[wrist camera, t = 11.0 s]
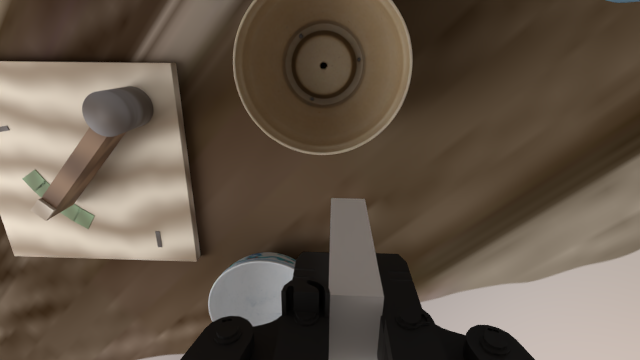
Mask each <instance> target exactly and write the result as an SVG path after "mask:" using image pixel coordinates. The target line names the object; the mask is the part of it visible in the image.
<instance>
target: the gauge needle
mask: <svg viewBox="0 0 640 360" xmlns="http://www.w3.org/2000/svg"><path fill="white" fill-rule="evenodd" d="M82 113H83V117H84V119H85V121H86V123H87V124H88V126H89V129H88V130H87V132H86V133H85V135H84V136H83V138H82V139H81V140H80V142H79V143H78V145H77V146H76V148H75V149H74V151H73V152H72V154H71V155H70V157H69V158H68V160H67V161H66V162H65V164H64V165H63V167H62V168H61V170H60V171H59V173H58V174H57V176H56V177H55V179H54V180H53V182H52V183H51V184H50V186H49V187H48V189H47V190H46V192H45V193H44V195H43V196H42V198H40V199H38V200H37V202H36V203H35V205H34V206H33V207H32V209H31V211H32V212H33V213H35V214H36V215H38V216H39V217H41V218H42V219H44V220H45V221H47V220H49V219H50V218H52V217H53V216H55V215H57V214H59V213H60V212H62V211H64V210H65V209H67V208H69V207H70V206H72V205H74V203H75V202H76V201H77V199H78V198H79V196H80V195H81V194H82V192H83V191H84V190H85V188H86V187H87V185H88V184H89V183H90V181H91V180H92V179H93V177H94V176H95V174H96V173H97V172H98V170H99V169H100V168H101V166H102V165H103V163H104V162H105V161H106V159H107V158H108V157H109V155H110V154H111V152H112V151H113V150H114V148H115V147H116V146H117V144H118V143H119V141H120V140H121V139H122V137H123V136H124V135H125V133H126V132H127V131H130V130H133V129H135V128H138V127H140V126H143V125H145V124H147V123H148V122H149V121H150V120H151V118H152V116H153V104H152V101H151V99H150V98H149V96H148V95H147V94H146V93H145V92H144V91H143V90H141V89H139V88H137V87H133V86H126V87H120V88H114V89H108V90H102V91H96V92H93V93H91V94H89V95H88V96H87V97H86V98H85V100H84V102H83V105H82Z"/></svg>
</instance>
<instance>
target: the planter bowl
mask: <svg viewBox="0 0 640 360" xmlns="http://www.w3.org/2000/svg"><path fill="white" fill-rule="evenodd" d="M321 63H326V64H327V67H326V68H325V69H322V68H321V67H320V65H321ZM412 65H413V55H412V45H411V40H410V35H409V32H408V29H407V26H406V23H405V21H404V19H403V17H402V15H401V13H400V11H399V10H398V8H397V7H396V5H395V4H394V2H393V1H392V0H254V1H253V2H252V4H251V5H250V6H249V8H248V9H247V11H246V13H245V15H244V17H243V19H242V21H241V23H240V26H239V28H238V31H237V35H236V39H235V43H234V51H233V71H234V78H235V83H236V87H237V90H238V93H239V96H240V98H241V101H242V103H243V105H244V107H245V109H246V111H247V112H248V114H249V115H250V117H251V118H252V119H253V121H254V122H255V123H256V124H257V126H258V127H259V128H260V129H261V130H262V131H263V132H264V133H265V134H267V135H268V136H269V137H271V138H272V139H273V140H275V141H276V142H278V143H280V144H281V145H283V146H285V147H287V148H290V149H292V150H295V151H298V152H302V153H307V154H314V155H331V154H338V153H343V152H347V151H350V150H353V149H355V148H358V147H360V146H362V145H364V144H365V143H367V142H369V141H370V140H372V139H373V138H375V137H376V136H377V135H379V134H380V133H381V132H382V131H383V130H384V129H385V128H386V127H387V126H388V125H389V124H390V123H391V121H392V120H393V119H394V118H395V116H396V115H397V113H398V112H399V110H400V108H401V106H402V104H403V102H404V100H405V97H406V95H407V92H408V89H409V85H410V81H411V75H412Z"/></svg>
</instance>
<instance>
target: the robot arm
mask: <svg viewBox="0 0 640 360" xmlns="http://www.w3.org/2000/svg"><path fill="white" fill-rule="evenodd" d="M606 1H610V2H616V3H625V2H638V1H640V0H606ZM281 303H282V315H281V316H280V317H279V318H278V319H276V320H274V321H272V322H269V323H266V324H263V325H258V326H252V324H251V323H250V322H249V321H248V320H247V319H245V318H243V317H240V316H227V317H222V318H220V319H217V320H215V321H213V322H212V323H211V324H210V325H209V326H207V327H206V328H205V329H204V331H203V332H202V333H201V334H200V336H199V337H198V338H197V339H196V341H195V342H194V343H193V344H192V346H191V347H190V348H189V349H188V351H187V352H186V353H185V355H184V356H183V357H182V358H181V360H535V359H534V358H533V357H532V356H531V355H530V354H529V353H528V352H527V351H526V350H525V349H524V347H523V346H522V345H521V344H520V343H519V342H518V341H517V340H516V339H514V338H513V337H512V336H511V335H510V334H509V333H507V332H505V331H503V330H501V329H499V328H496V327H493V326H489V325H477V326H474V327H471V328H470V329H469V330H468V332H467V333H466V335H462V334H459V333H455V332H452V331H449V330H446V329H443V328H441V327H439V326H437V325H435V323H434V321H433V319H432V318H431V316H430V315H429V314H428V313H426V312H425V311H424V310H423V309H422V307H421V304H420V301H419V298H418V295H417V292H416V289H415V286H414V283H413V281H412V277H411V274H410V271H409V268H408V265H407V262H406V261H405V260H404V259H403V258H402V257H401V256H400V255H399V254H380V253H375V249H374V244H373V238H372V233H371V228H370V223H369V218H368V213H367V208H366V203H365V199H344V198H331V221H330V253H324V252H302V253H301V254H300V256H299V257H298V258H297V259H296V262H295V267H294V273H293V278H292V280H291V281H289V282H288V283H287V284H285V285H284V287H283V289H282V291H281Z"/></svg>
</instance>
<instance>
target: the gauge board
mask: <svg viewBox="0 0 640 360" xmlns="http://www.w3.org/2000/svg"><path fill="white" fill-rule="evenodd" d="M126 86H133V87H137V88H139V89H141V90H143V91H144V92H145V93H146V94H147V95H148V96H149V98H150V99H151V101H152V104H153V116H152V118H151V120H150V121H149V122H148V123H147V124H145V125H143V126H140V127H138V128H135V129H133V130H130V131H127V132H126V133H125V135H124V136H123V137H122V139H121V140H120V141H119V143H118V144H117V146H116V147H115V148H114V150H113V151H112V152H111V154H110V155H109V157H108V158H107V159H106V161H105V162H104V163H103V165H102V166H101V168H100V169H99V170H98V172H97V173H96V174H95V176H94V177H93V179H92V180H91V181H90V183H89V184H88V185H87V187H86V188H85V190H84V191H83V192H82V194H81V195H80V196H79V198H78V199H77V201H76V202H75V203H74V205H72V206H70V207H69V208H67V209H65V210H64V211H62V212H60V213H59V214H57V215H55V216H53V217H52V218H50V219H49V220H47V221H45V220H44V219H42V218H41V217H39V216H38V215H36V214H35V213H33V212H32V211H31V209H32V207H33V206H34V205H35V203H36V202H37V200H38V199H40V198H42V196H43V195H44V193H45V192H46V190H47V189H48V187H49V186H50V184H51V183H52V182H53V180H54V179H55V177H56V176H57V174H58V173H59V171H60V170H61V168H62V167H63V165H64V164H65V162H66V161H67V160H68V158H69V157H70V155H71V154H72V152H73V151H74V149H75V148H76V146H77V145H78V143H79V142H80V140H81V139H82V138H83V136H84V135H85V133H86V132H87V130H88V129H89V126H88V124H87V123H86V121H85V119H84V117H83V113H82V105H83V102H84V100H85V98H86V97H87V96H88V95H89V94H91V93H93V92H96V91H102V90H108V89H114V88H120V87H126ZM0 215H1V218H2V221H3V224H4V227H5V230H6V232H7V235H8V238H9V241H10V244H11V247H12V250H13V253H14V256H32V257H65V258H98V259H131V260H164V261H198V259H199V257H200V256H201V255H200V247H199V239H198V231H197V223H196V216H195V208H194V200H193V192H192V184H191V177H190V169H189V161H188V153H187V145H186V137H185V130H184V122H183V114H182V106H181V98H180V91H179V83H178V75H177V67H176V63H133V62H43V61H0Z"/></svg>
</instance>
